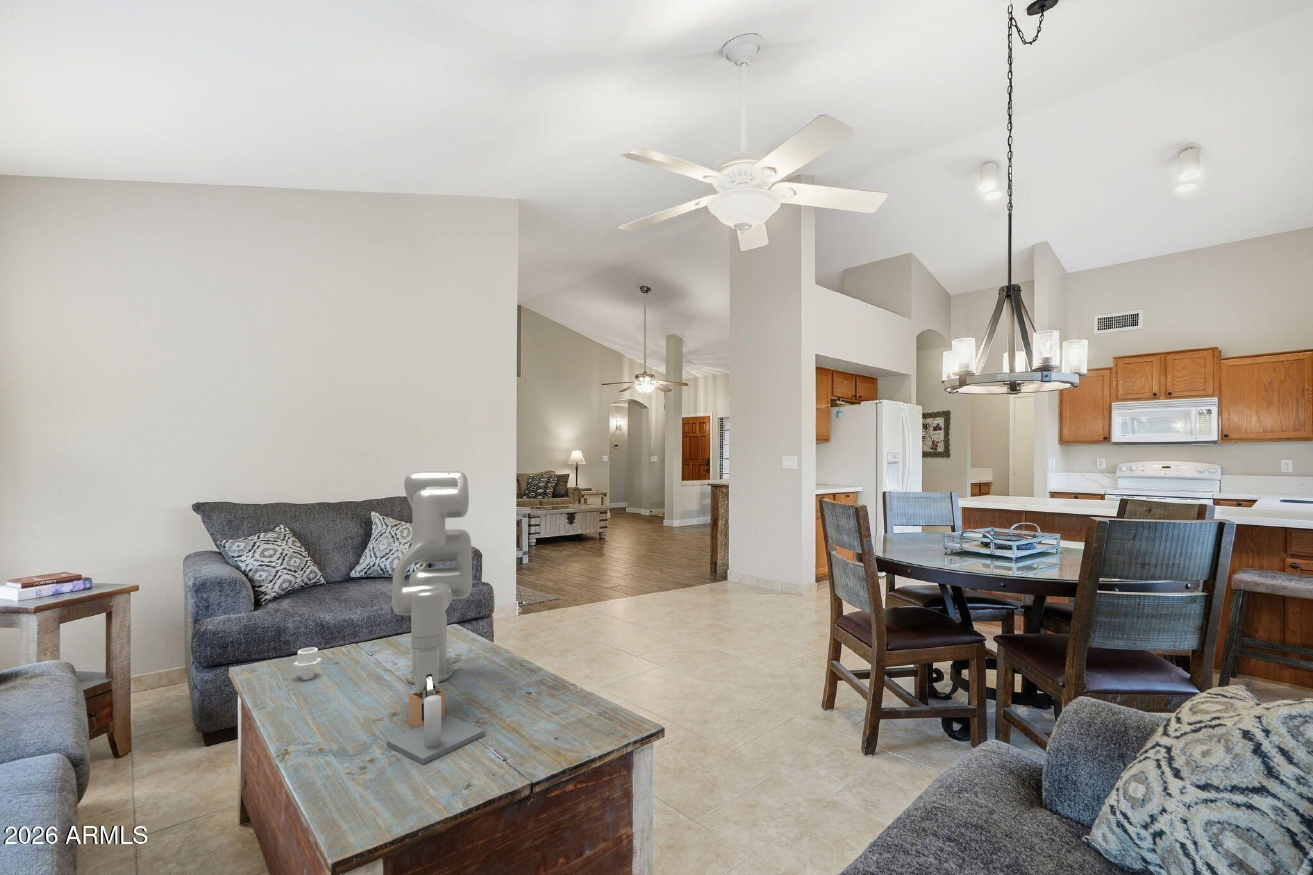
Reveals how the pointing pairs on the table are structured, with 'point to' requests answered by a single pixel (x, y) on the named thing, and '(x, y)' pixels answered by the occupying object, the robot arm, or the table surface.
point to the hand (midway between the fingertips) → (427, 712)
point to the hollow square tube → (416, 707)
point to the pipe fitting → (307, 662)
